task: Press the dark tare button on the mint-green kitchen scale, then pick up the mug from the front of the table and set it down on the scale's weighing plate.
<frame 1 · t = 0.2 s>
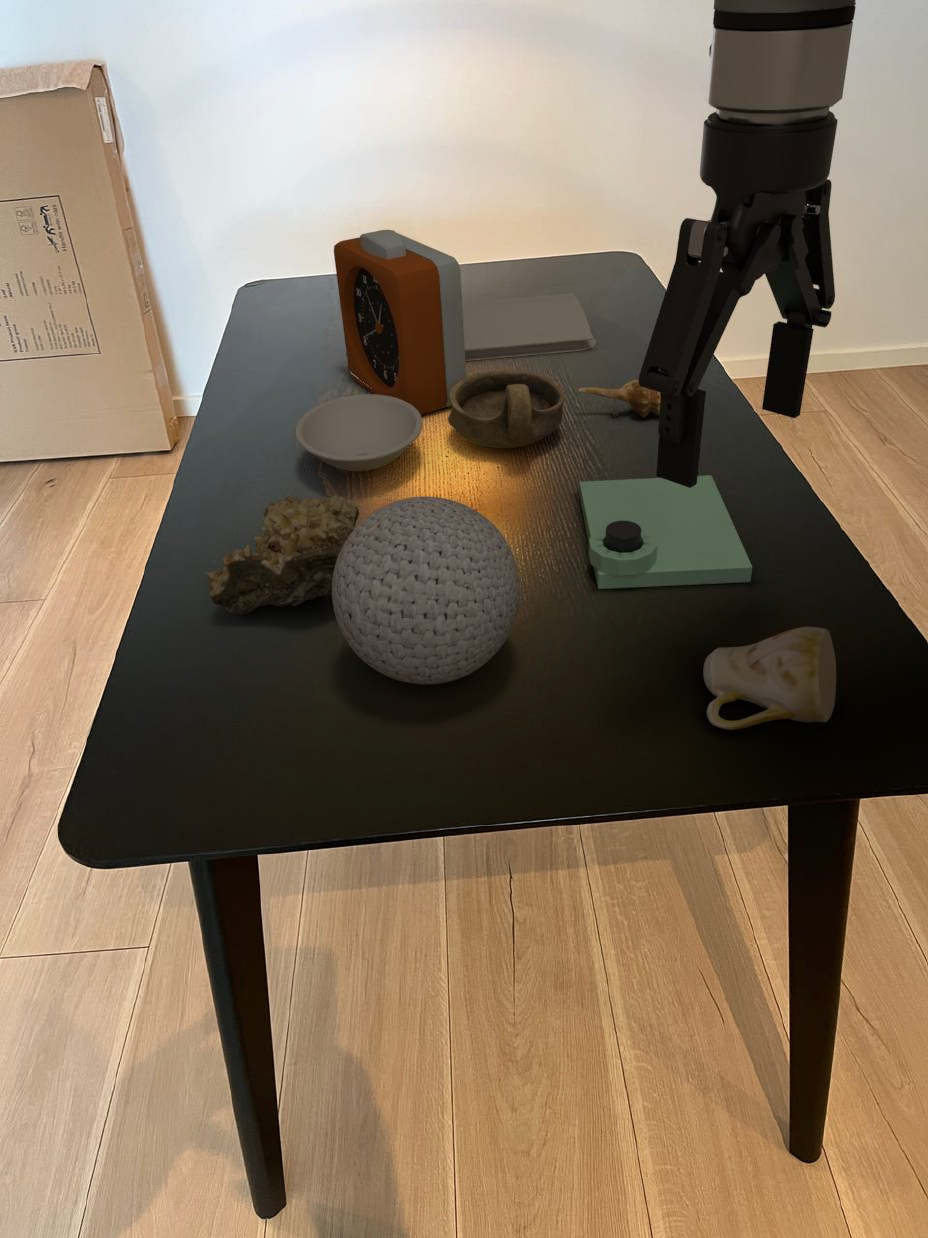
hand: (731, 444, 69), 20 cm above the table, tool pointing down, fingers open, 13 cm apart
alarm clock: (406, 392, 130), on the table
dish: (364, 465, 114), on the table
spiral seashell: (636, 415, 121), on the table
mineral specimen: (301, 587, 93), on the table
decorative ball: (433, 665, 82), on the table
book: (513, 338, 145), on the table
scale: (658, 535, 97), on the table
mug: (763, 707, 76), on the table
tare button: (623, 537, 90), point 4 cm above the table, slide at 0.1 cm
bowl: (509, 446, 115), on the table
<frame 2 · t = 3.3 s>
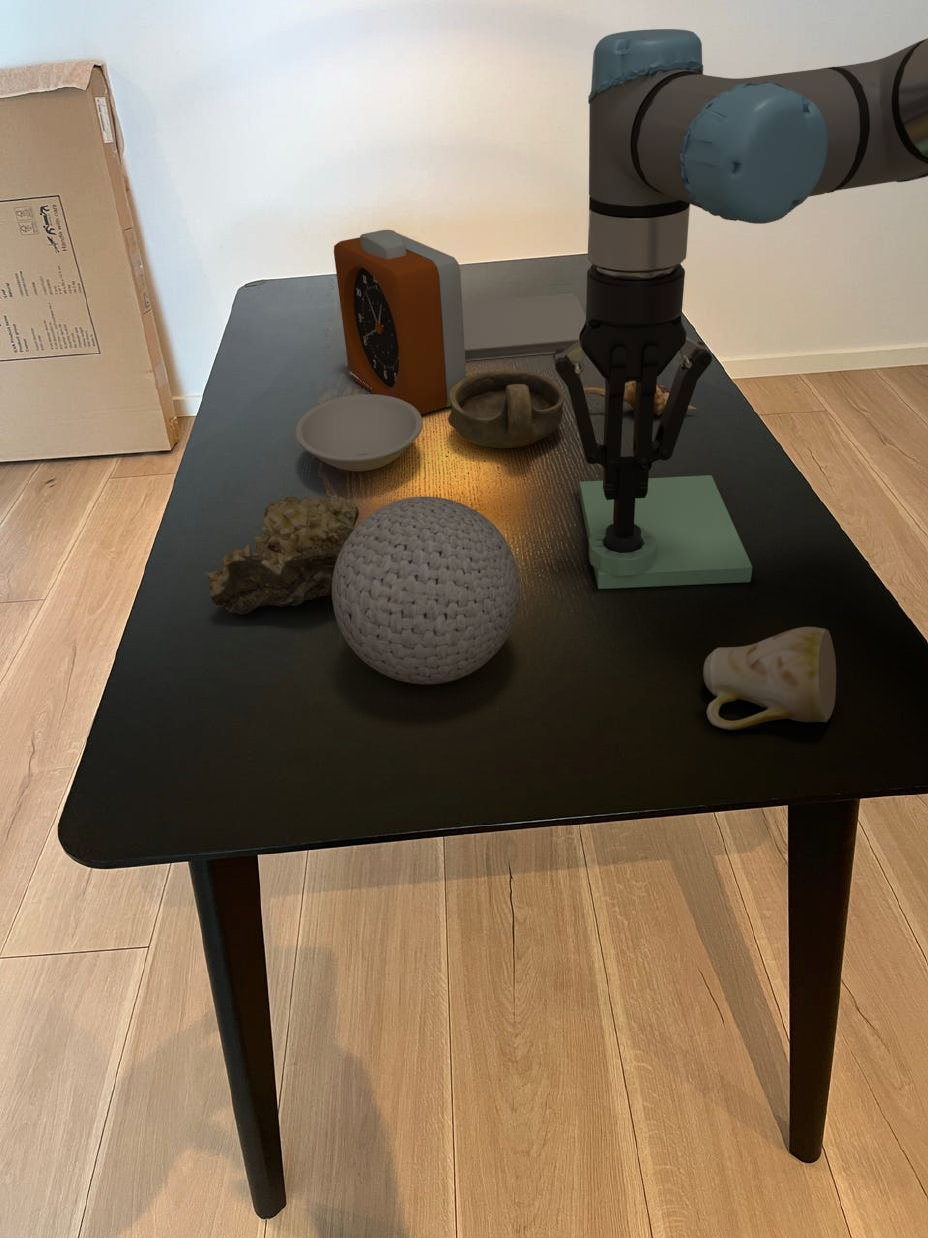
hand: (623, 527, 89), 5 cm above the table, tool pointing down, fingers closed
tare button: (623, 538, 90), point 4 cm above the table, slide at -0.1 cm, touching gripper
everything else where it was.
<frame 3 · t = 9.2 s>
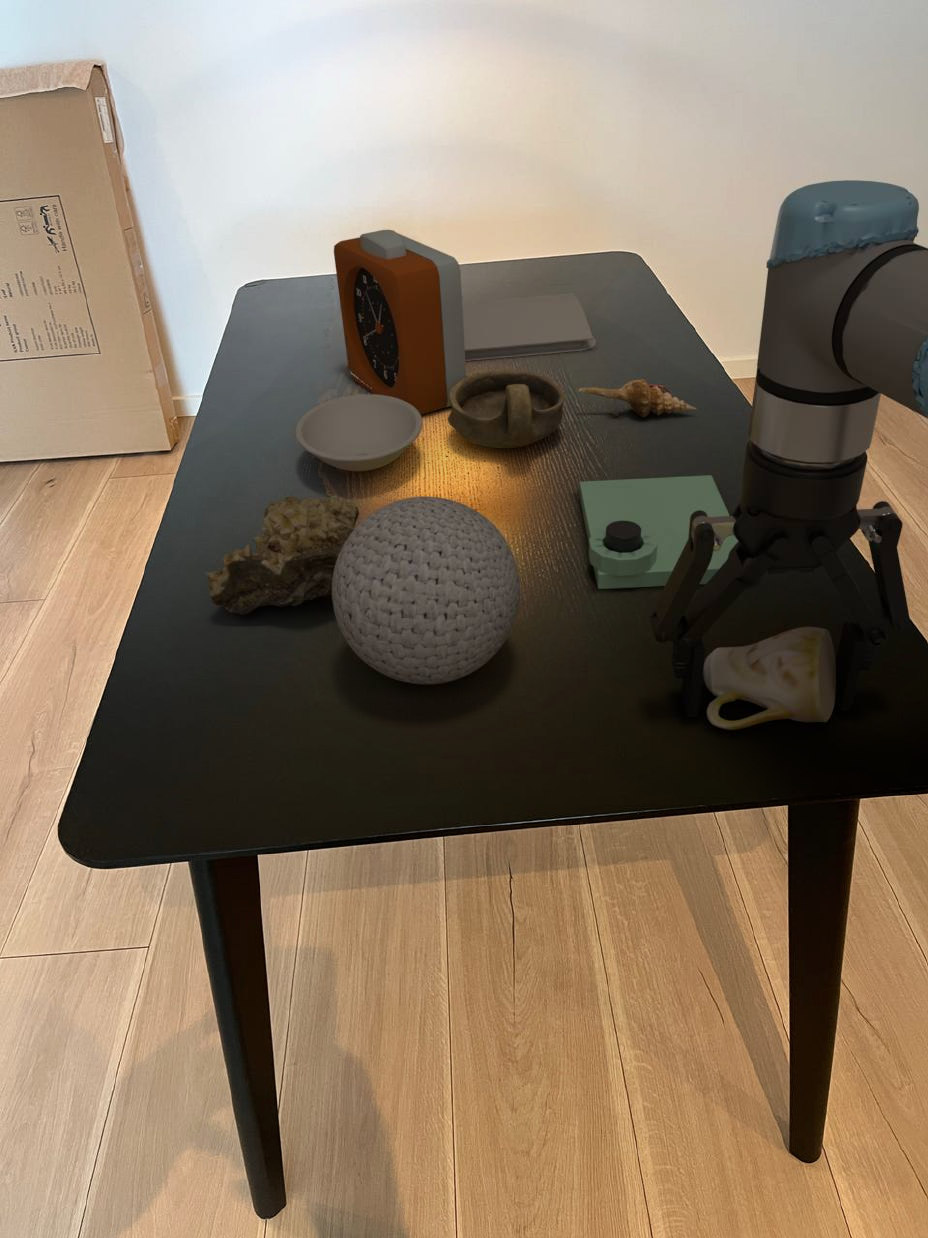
hand: (764, 702, 76), 0 cm above the table, tool pointing down, fingers open, 11 cm apart
mug: (763, 707, 76), on the table, touching gripper
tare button: (623, 537, 90), point 4 cm above the table, slide at 0.1 cm
everything else where it was.
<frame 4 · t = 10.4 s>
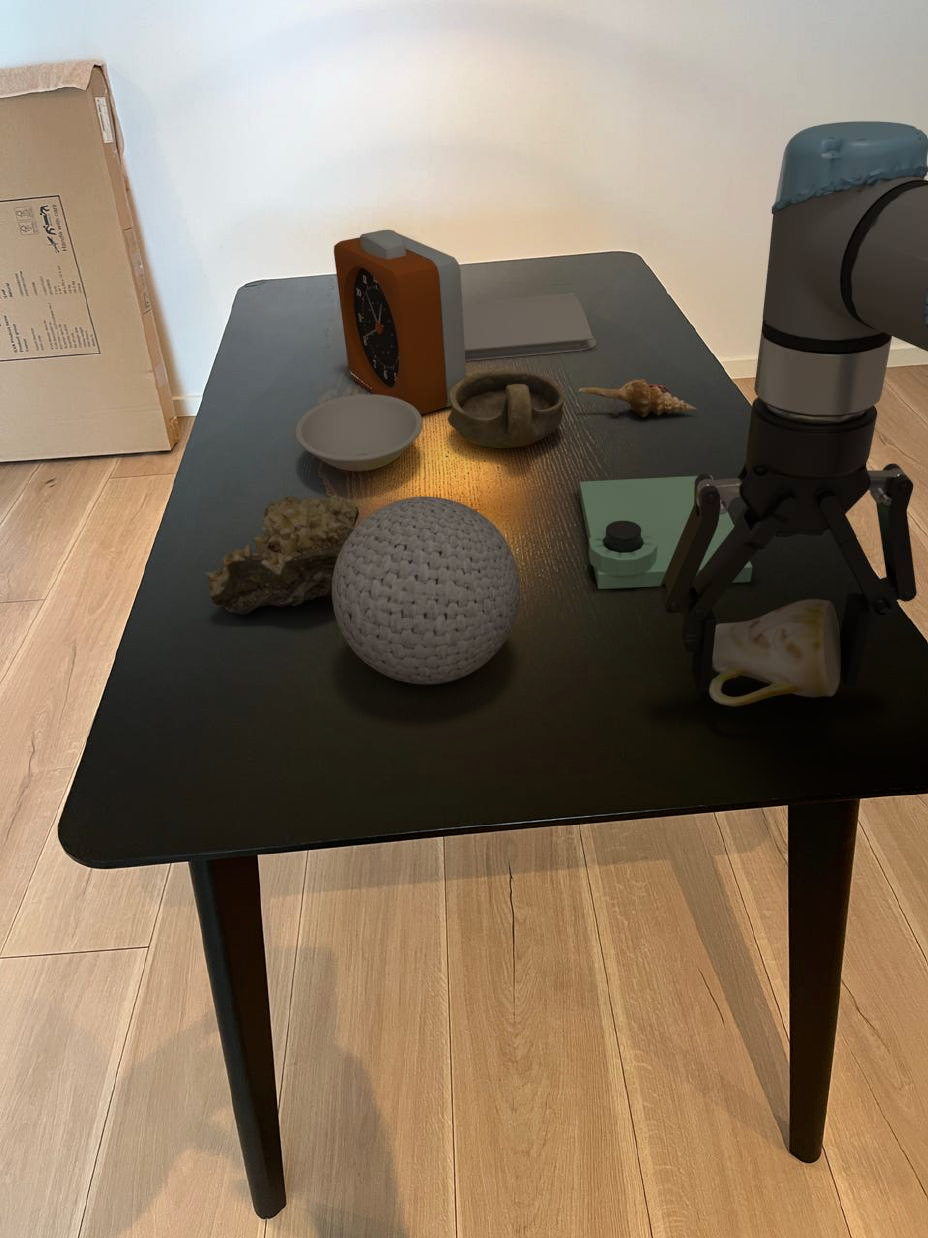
hand: (772, 677, 74), 3 cm above the table, tool pointing down, fingers closed on mug, 10 cm apart
mug: (767, 684, 74), point 3 cm above the table, touching gripper
everything else where it was.
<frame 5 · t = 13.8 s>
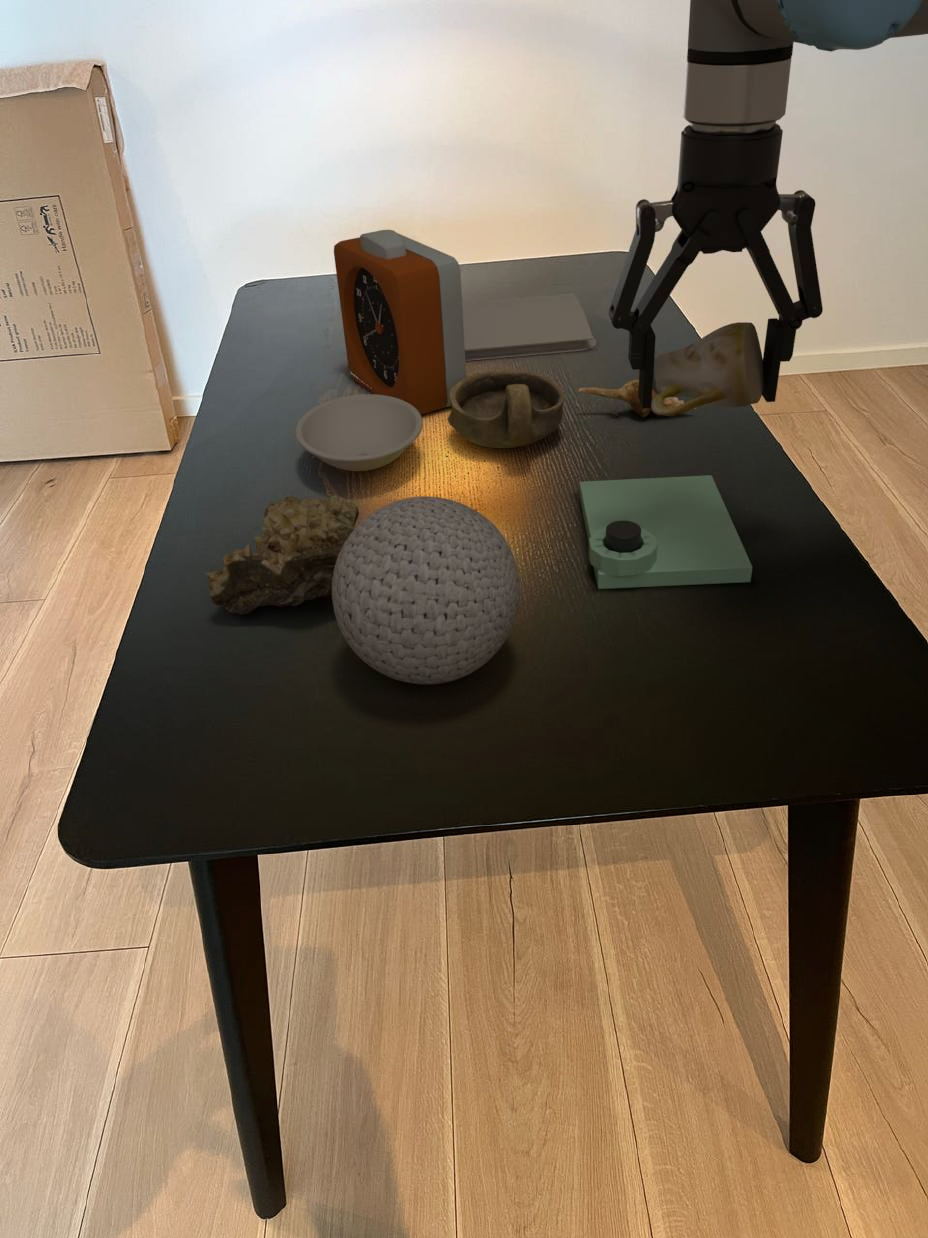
hand: (705, 398, 87), 15 cm above the table, tool pointing down, fingers closed on mug, 10 cm apart
mug: (701, 404, 87), point 15 cm above the table, touching gripper
everything else where it was.
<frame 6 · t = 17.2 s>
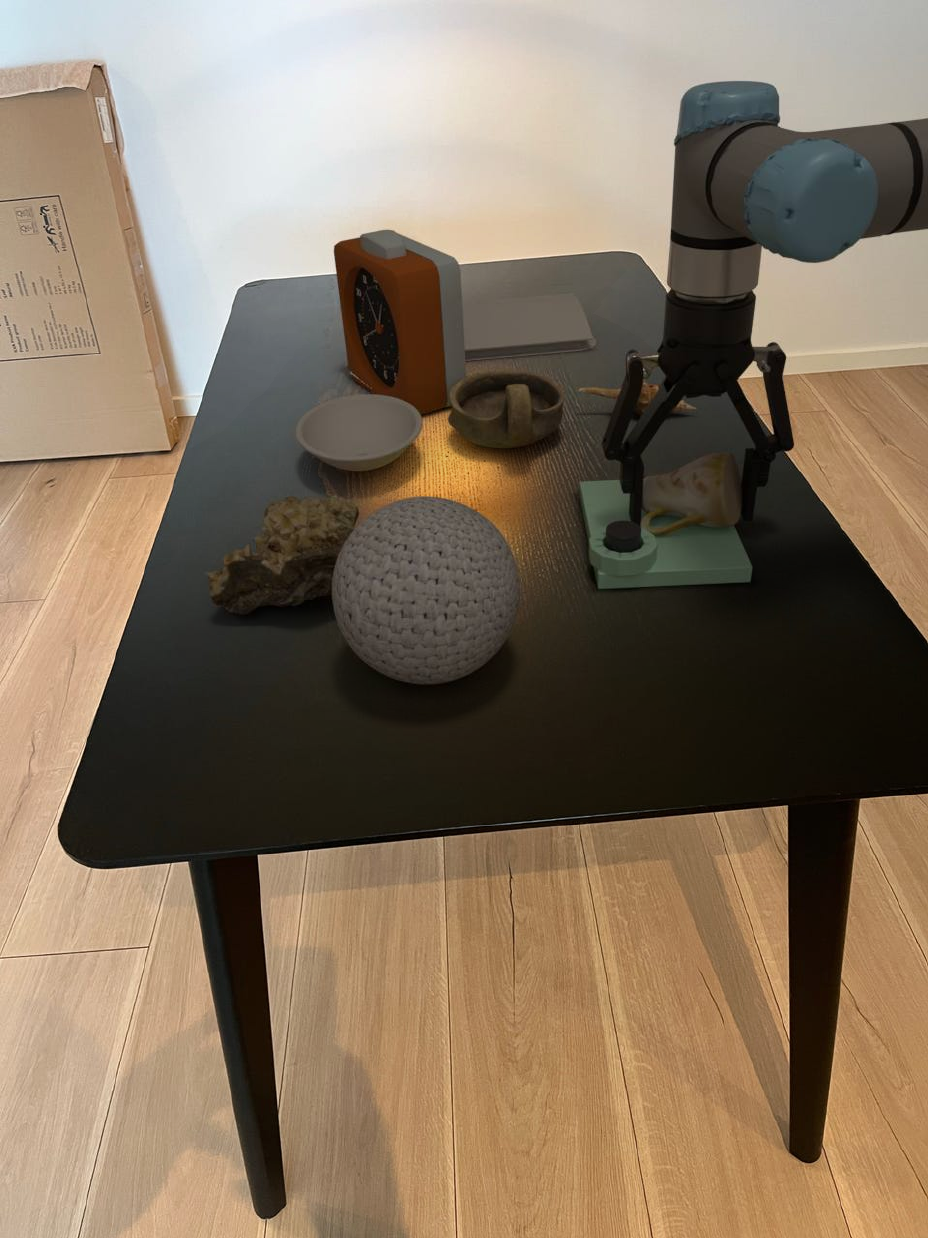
hand: (689, 517, 96), 2 cm above the table, tool pointing down, fingers closed on mug, 10 cm apart
mug: (686, 521, 96), point 2 cm above the table, touching gripper, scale
everything else where it was.
when the fingers open (2 cm above the table, at t = 17.4 s): mug stays where it is, resting on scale.
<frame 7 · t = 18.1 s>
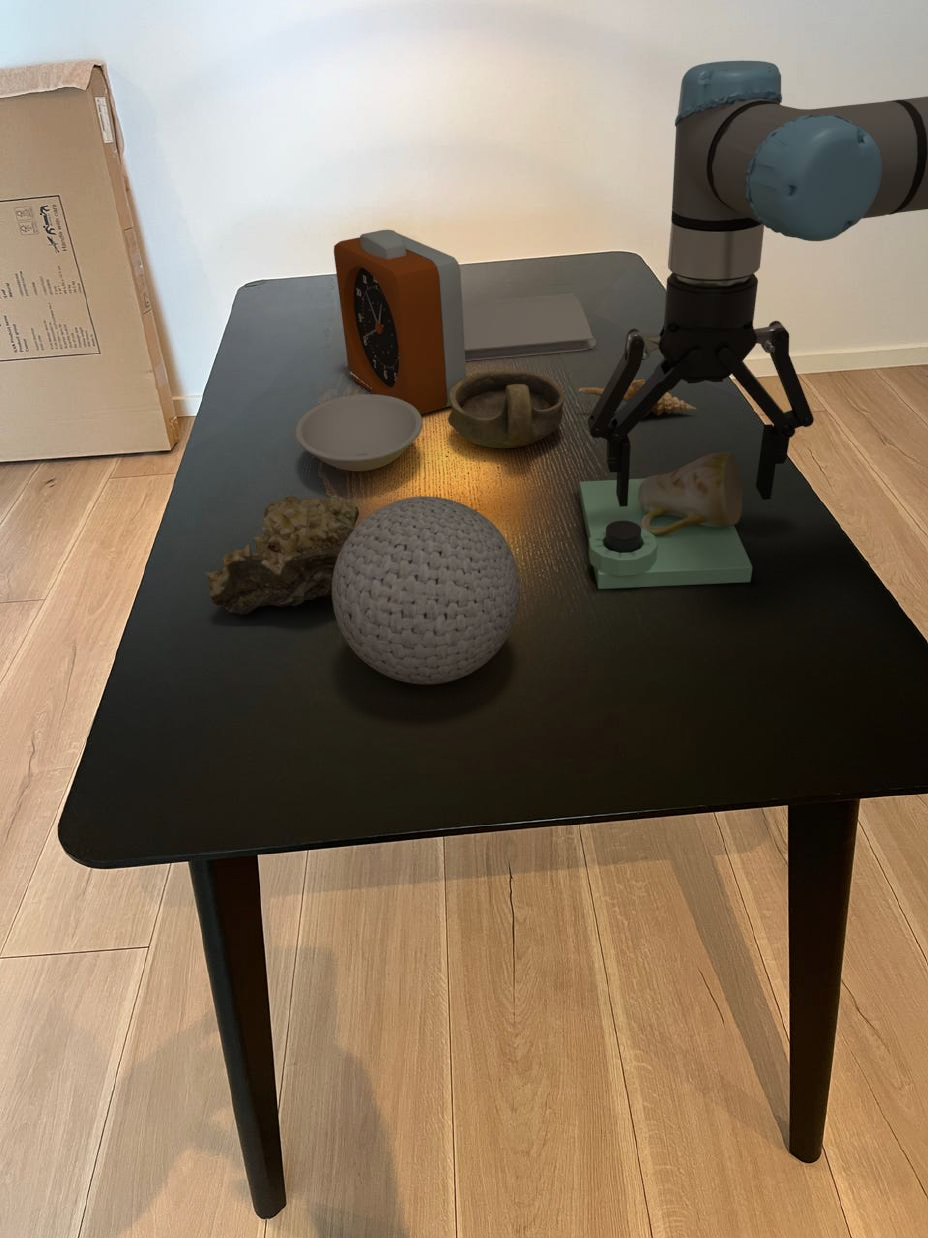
hand: (692, 496, 94), 4 cm above the table, tool pointing down, fingers open, 13 cm apart
mug: (686, 521, 96), point 2 cm above the table, touching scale
everything else where it was.
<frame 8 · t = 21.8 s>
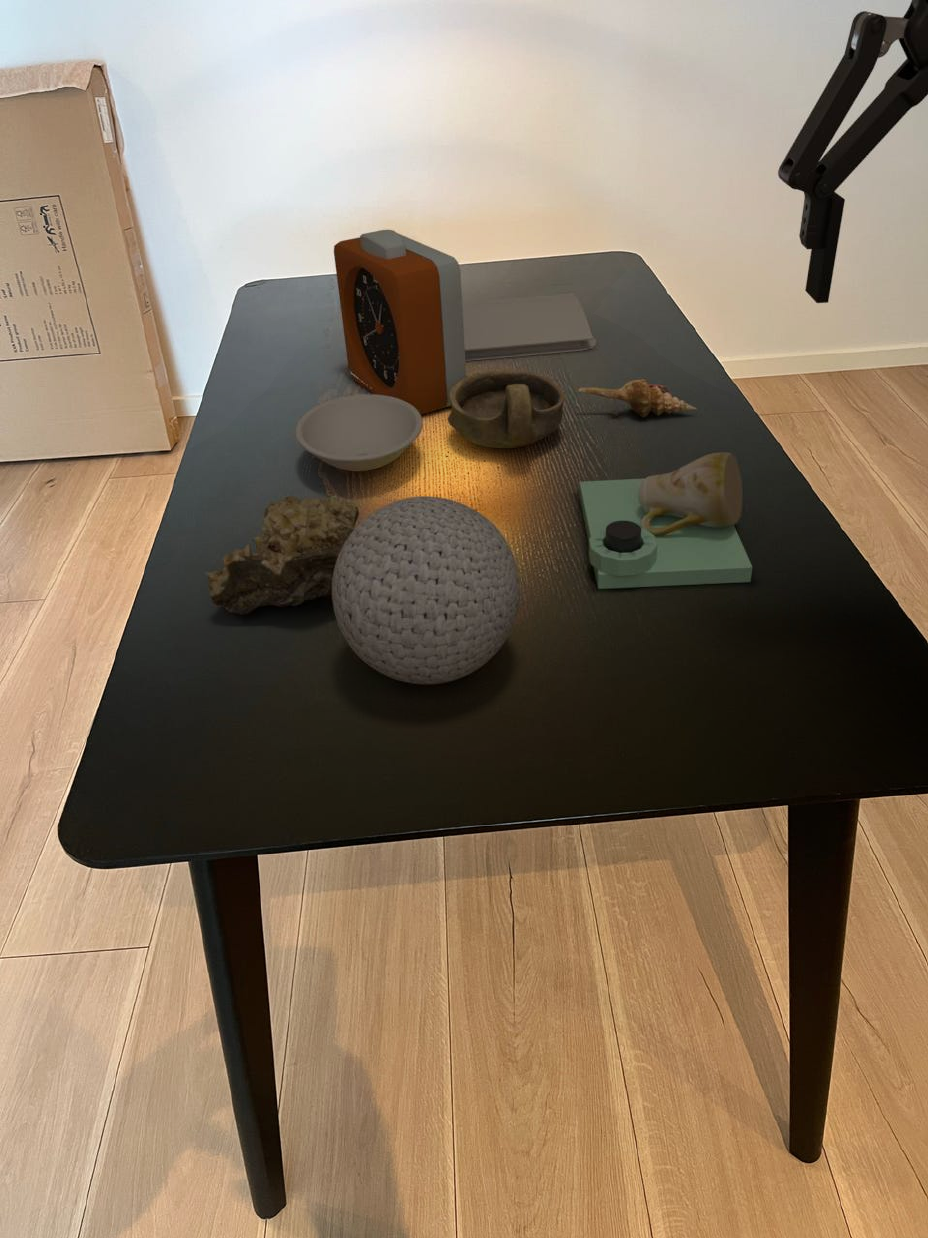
hand: (917, 291, 66), 29 cm above the table, tool pointing down, fingers open, 13 cm apart
nothing on the table moved.
at the end: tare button pushed in 1.0 cm at the most during the clip, back to where it started at the end; mug inside the target area on the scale (0.7 cm from its centre), point 1.5 cm above the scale's base; mug tilted 1° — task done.
